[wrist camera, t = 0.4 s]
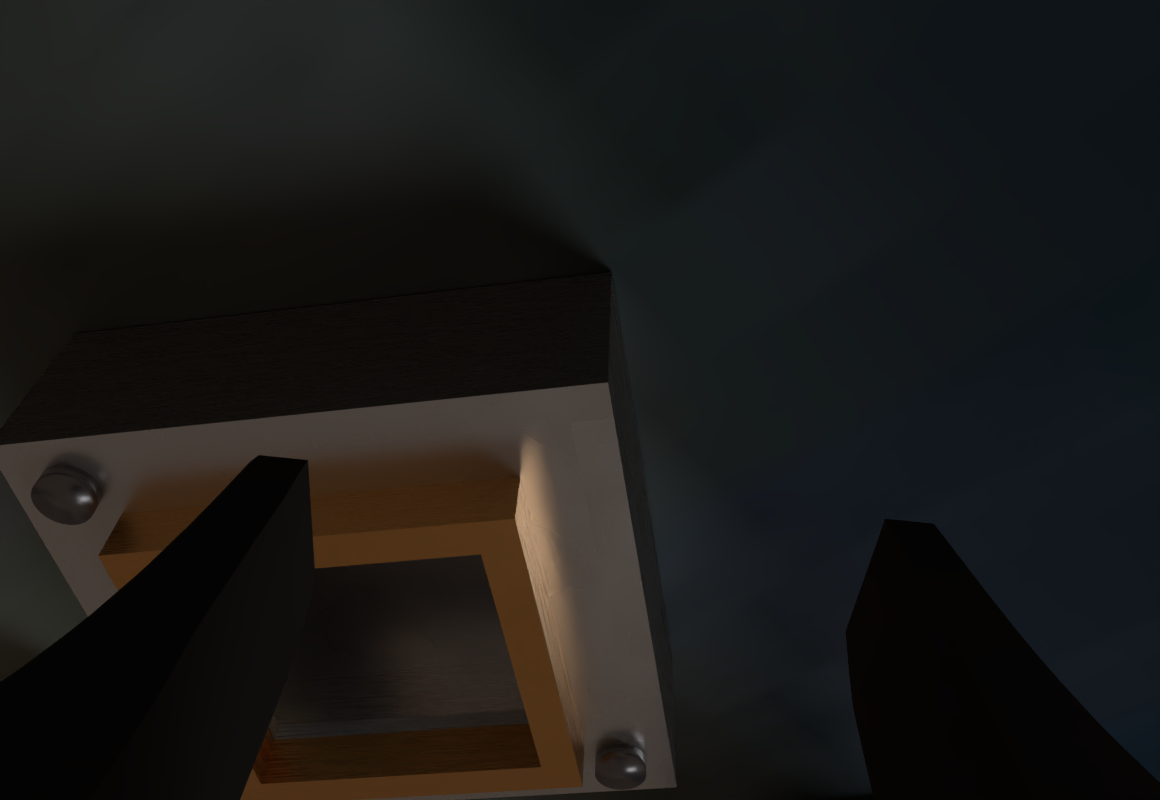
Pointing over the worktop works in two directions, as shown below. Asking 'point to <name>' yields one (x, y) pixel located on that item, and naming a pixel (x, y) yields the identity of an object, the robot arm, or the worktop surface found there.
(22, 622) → the worktop surface
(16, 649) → the worktop surface
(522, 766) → the housing
